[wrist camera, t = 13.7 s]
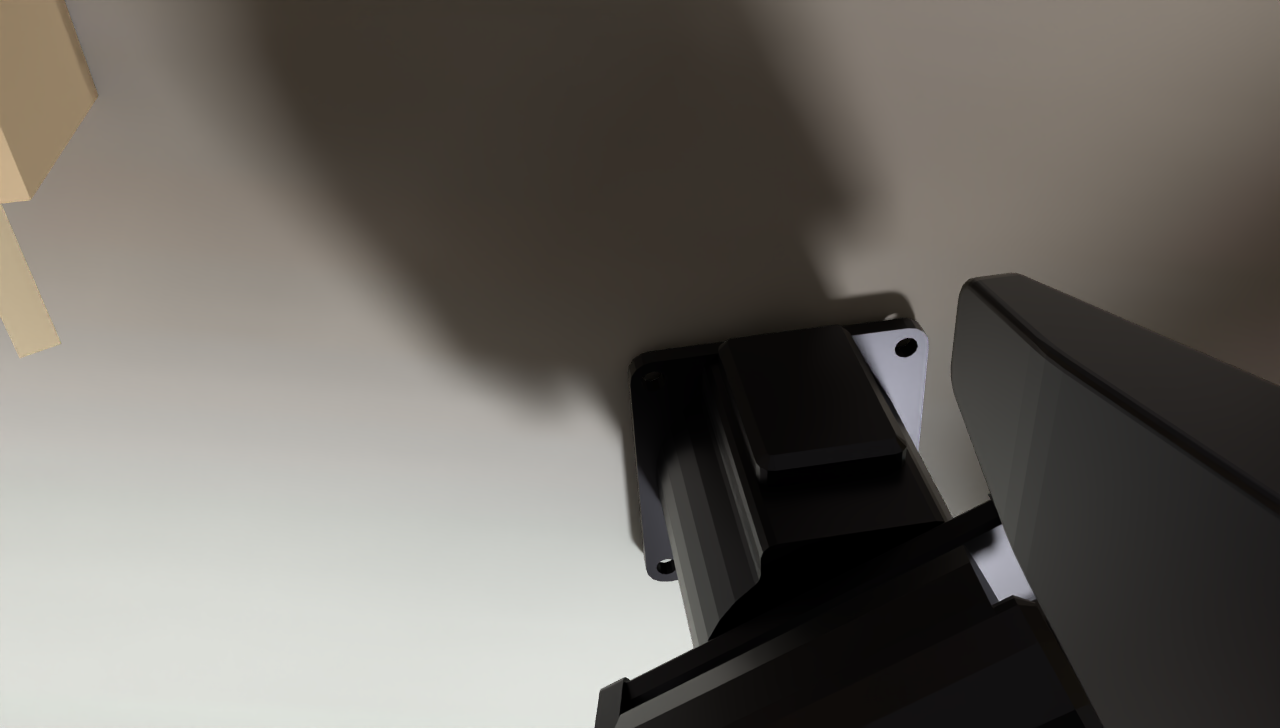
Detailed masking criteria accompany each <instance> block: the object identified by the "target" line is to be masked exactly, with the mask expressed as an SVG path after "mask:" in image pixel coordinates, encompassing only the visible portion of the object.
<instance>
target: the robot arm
mask: <svg viewBox="0 0 1280 728" xmlns="http://www.w3.org/2000/svg"><path fill="white" fill-rule="evenodd" d="M905 338H911V340H910V342H909V343H907V344H906V345H905V346H902V347H896V344H897V343H898V342H899V341H900V340H902V339H905ZM928 349H929V342H928V337H927V335H926V334H925V332H924V330H923V329H922V327H921V326H920V325H919V323H918V322H917V321H914V320H912V319H906V318H901V319H893V320H885V321H878V322H870V323H863V324H855V325H847V326H839V325H831V326H824V327H816V328H808V329H801V330H793V331H786V332H778V333H770V334H763V335H755V336H748V337H740V338H732V339H729V340H727V341H726V342H718V343H711V344H703V345H696V346H688V347H680V348H673V349H665V350H658V351H650V352H646V353H643V354H640V355H639V356H637V357H636V358H635V359H633V361H632V362H631V364H630V365H629V369H628V381H629V393H630V404H631V415H632V427H633V438H634V449H635V461H636V472H637V483H638V495H639V506H640V517H641V529H642V540H643V551H644V560H645V565H646V570H647V573H648V575H649V576H650V577H651V578H652V579H654V580H657V581H674V580H678V581H679V585H680V590H681V594H682V599H683V603H684V608H685V612H686V617H687V621H688V625H689V630H690V634H691V639H692V643H693V648H694V649H692V650H690V651H688V652H686V653H684V654H682V655H680V656H678V657H676V658H674V659H672V660H670V661H668V662H666V663H664V664H662V665H660V666H658V667H656V668H654V669H652V670H650V671H648V672H646V673H644V674H642V675H640V676H638V677H636V678H634V679H632V680H629V679H628V678H626V677H624V678H622V679H620V680H618V681H616V682H614V683H612V684H610V685H608V686H606V687H604V688H602V689H601V690H600V693H599V700H598V707H597V714H596V721H595V728H1280V386H1278V385H1276V384H1274V383H1271V382H1269V381H1267V380H1264V379H1262V378H1260V377H1257V376H1255V375H1253V374H1250V373H1248V372H1246V371H1243V370H1241V369H1239V368H1237V367H1234V366H1232V365H1230V364H1227V363H1225V362H1223V361H1220V360H1218V359H1216V358H1213V357H1211V356H1209V355H1206V354H1204V353H1202V352H1199V351H1197V350H1195V349H1193V348H1190V347H1188V346H1186V345H1183V344H1181V343H1179V342H1176V341H1174V340H1172V339H1169V338H1167V337H1165V336H1162V335H1160V334H1158V333H1155V332H1153V331H1151V330H1149V329H1146V328H1144V327H1142V326H1139V325H1137V324H1135V323H1132V322H1130V321H1128V320H1125V319H1123V318H1121V317H1118V316H1116V315H1114V314H1112V313H1109V312H1107V311H1105V310H1102V309H1100V308H1098V307H1095V306H1093V305H1091V304H1088V303H1086V302H1084V301H1081V300H1079V299H1077V298H1075V297H1072V296H1070V295H1068V294H1065V293H1063V292H1061V291H1058V290H1056V289H1054V288H1051V287H1049V286H1047V285H1045V284H1042V283H1040V282H1038V281H1035V280H1033V279H1031V278H1028V277H1026V276H1024V275H1021V274H1018V273H1005V274H998V275H990V276H983V277H976V278H971V279H969V280H968V281H966V282H965V284H964V285H963V286H962V289H961V291H960V294H959V298H958V306H957V315H956V324H955V333H954V342H953V351H952V360H951V380H952V386H953V391H954V395H955V398H956V401H957V403H958V406H959V409H960V411H961V414H962V417H963V420H964V422H965V425H966V428H967V430H968V433H969V436H970V439H971V441H972V444H973V447H974V449H975V452H976V455H977V458H978V460H979V463H980V466H981V469H982V471H983V474H984V477H985V479H986V482H987V485H988V488H989V490H990V494H988V495H989V497H990V500H988V501H986V502H984V503H982V504H980V505H978V506H976V507H974V508H972V509H970V510H968V511H966V512H964V513H963V514H961V515H959V516H957V517H955V518H953V517H952V515H951V514H950V512H949V510H948V508H947V506H946V504H945V502H944V500H943V498H942V496H941V494H940V493H939V491H938V489H937V487H936V485H935V483H934V481H933V479H932V477H931V475H930V474H929V472H928V470H927V468H926V466H925V464H924V462H923V460H922V458H921V456H920V454H919V443H920V432H921V422H922V411H923V401H924V390H925V380H926V370H927V359H928ZM650 372H660V373H661V375H660V376H659V377H658V378H657V379H654V380H645V379H643V377H644V376H645V375H646V374H647V373H650ZM665 559H672V560H671V561H668V562H665V563H663V562H660V561H662V560H665Z"/></svg>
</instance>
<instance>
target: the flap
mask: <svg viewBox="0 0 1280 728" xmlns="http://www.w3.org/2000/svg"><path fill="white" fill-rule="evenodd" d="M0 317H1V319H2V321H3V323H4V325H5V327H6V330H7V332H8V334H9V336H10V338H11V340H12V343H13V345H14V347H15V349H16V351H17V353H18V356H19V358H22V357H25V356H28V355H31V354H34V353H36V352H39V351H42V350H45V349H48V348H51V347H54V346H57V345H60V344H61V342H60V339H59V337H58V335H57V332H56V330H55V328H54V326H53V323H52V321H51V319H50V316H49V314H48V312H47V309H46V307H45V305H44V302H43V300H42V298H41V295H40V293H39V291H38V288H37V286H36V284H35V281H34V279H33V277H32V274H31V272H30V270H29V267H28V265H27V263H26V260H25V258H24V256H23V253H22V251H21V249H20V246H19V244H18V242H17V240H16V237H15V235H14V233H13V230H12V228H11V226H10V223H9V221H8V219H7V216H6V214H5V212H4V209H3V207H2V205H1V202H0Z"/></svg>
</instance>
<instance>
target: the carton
mask: <svg viewBox="0 0 1280 728" xmlns="http://www.w3.org/2000/svg"><path fill="white" fill-rule="evenodd" d="M97 97H98V94H97V91H96V88H95V85H94V83H93V80H92V77H91V74H90V71H89V68H88V66H87V63H86V60H85V57H84V54H83V52H82V49H81V46H80V43H79V40H78V37H77V35H76V32H75V29H74V26H73V23H72V20H71V18H70V15H69V12H68V9H67V6H66V4H65V1H64V0H0V202H1V203H10V202H18V201H27V200H31V199H32V197H33V196H34V194H35V193H36V191H37V190H38V188H39V187H40V185H41V184H42V182H43V181H44V179H45V177H46V176H47V174H48V173H49V171H50V170H51V168H52V167H53V165H54V164H55V162H56V160H57V159H58V157H59V156H60V154H61V153H62V151H63V150H64V148H65V147H66V145H67V144H68V142H69V140H70V139H71V137H72V136H73V134H74V133H75V131H76V130H77V128H78V127H79V125H80V124H81V122H82V120H83V119H84V117H85V116H86V114H87V113H88V111H89V110H90V108H91V107H92V105H93V103H94V102H95V100H96V99H97Z"/></svg>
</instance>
